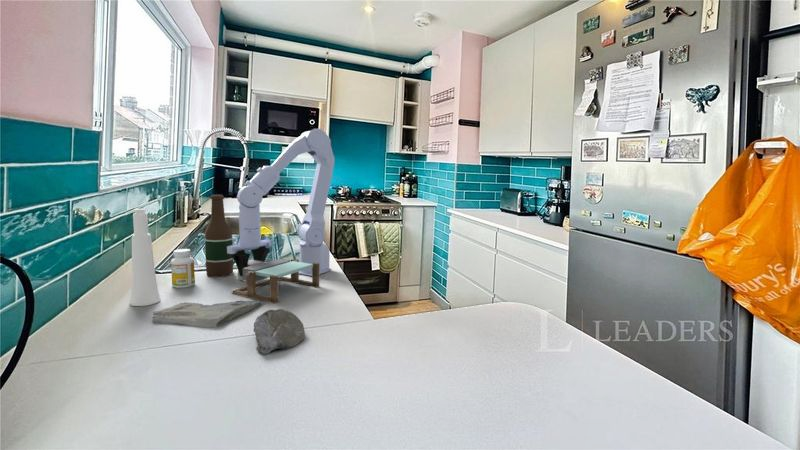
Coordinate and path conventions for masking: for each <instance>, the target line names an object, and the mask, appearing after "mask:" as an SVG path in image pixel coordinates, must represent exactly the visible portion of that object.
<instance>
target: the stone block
mask: <svg viewBox="0 0 800 450" xmlns="http://www.w3.org/2000/svg"><path fill="white" fill-rule="evenodd" d="M261 263H265V261H258V260H254V259H249V260H248V267H249V266H253V265H257V264H261ZM237 280H239V281H244V282H247V280H243V276H240V274H239V271H238V270H237Z"/></svg>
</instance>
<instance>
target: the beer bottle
mask: <svg viewBox="0 0 800 450" xmlns="http://www.w3.org/2000/svg"><path fill="white" fill-rule="evenodd" d="M210 199H211V206H210V207H211V211H210V212H211V213H210V222H209V224H208V225H207V226H206V229H205V232H204V245H205V246H204V252H205V254H204V255H205V271H206V275H207V276H208V277H213V278H219V277H227V275H228V276H230V275H233V273H234V259H233V258H232V256H231V254H228V253H227V247H228V246H232V245H234V244H233V232H232V229H231V227H230V225H229V224H228V223H227V222H226V221H227V220H226V215H225V207H224V199H225V197H224V195H223V194H211V196H210Z"/></svg>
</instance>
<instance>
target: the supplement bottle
mask: <svg viewBox="0 0 800 450" xmlns="http://www.w3.org/2000/svg"><path fill="white" fill-rule="evenodd" d="M191 254H192V251H191V249H190V248H179V249H178V248H177V249H175V250H173V257H174V258H171V260H170V266H171V267H170V269H171V284H172V287H173V288H176V289H181V288H182V289H183V288H189V287H192V286H194V285H195V284H196V282H195V281H196V278H195V277H196V276H195V261H194V258H193V257H192V256H191Z"/></svg>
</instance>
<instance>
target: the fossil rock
mask: <svg viewBox="0 0 800 450" xmlns="http://www.w3.org/2000/svg"><path fill="white" fill-rule="evenodd" d="M261 304H262V300H236V301H229V302H222V303H221V302H220V303H214V304H213V303H212V304H202V303H199V302H198V303H197V302H180V303H177V304H174V305H173V306H170V307H167V308H163V309H161V310H158V311H153V312H152V319H153V322H154V323H159V324H168V325H169V324H170V325H172V324H173V325H175V324H180V325H185V326H193V327H204V328H205V327H206V328H216V327H219V326H220V325H222V324H225V323H227V322H230V321H232V320H233V319H235V318H237V317H238V316H242V315H244V314H247V313H248V312H251V311H252V310H254V309H255V308H257V307H258V306H261Z"/></svg>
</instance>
